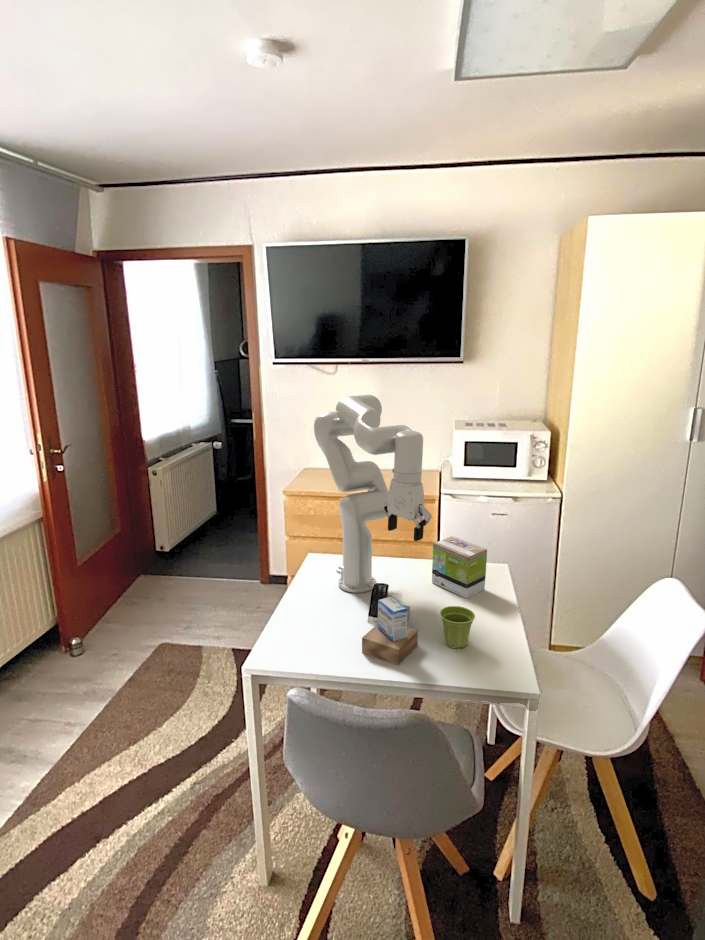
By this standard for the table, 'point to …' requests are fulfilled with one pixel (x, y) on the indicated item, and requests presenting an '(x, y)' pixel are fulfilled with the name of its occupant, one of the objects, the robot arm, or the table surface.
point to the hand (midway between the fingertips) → (405, 534)
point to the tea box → (459, 566)
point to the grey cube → (407, 612)
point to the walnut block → (389, 645)
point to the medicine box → (392, 619)
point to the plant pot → (456, 625)
